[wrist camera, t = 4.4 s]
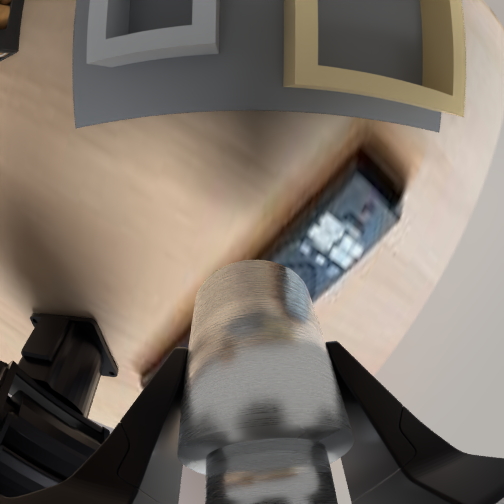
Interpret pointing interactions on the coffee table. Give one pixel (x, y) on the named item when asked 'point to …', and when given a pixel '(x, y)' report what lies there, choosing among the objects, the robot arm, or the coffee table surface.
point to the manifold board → (269, 58)
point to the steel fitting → (260, 391)
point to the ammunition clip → (10, 26)
